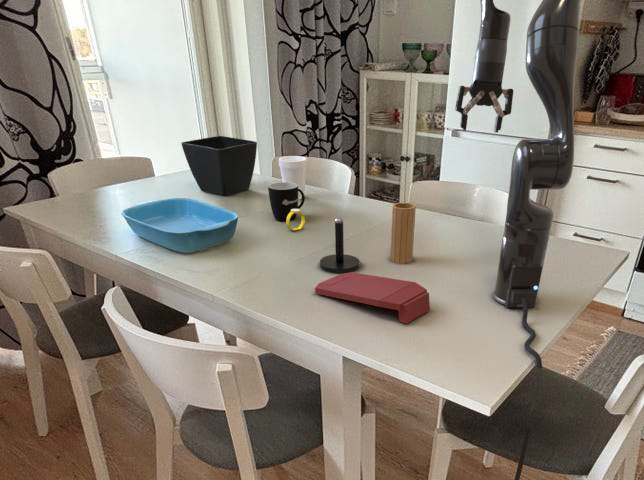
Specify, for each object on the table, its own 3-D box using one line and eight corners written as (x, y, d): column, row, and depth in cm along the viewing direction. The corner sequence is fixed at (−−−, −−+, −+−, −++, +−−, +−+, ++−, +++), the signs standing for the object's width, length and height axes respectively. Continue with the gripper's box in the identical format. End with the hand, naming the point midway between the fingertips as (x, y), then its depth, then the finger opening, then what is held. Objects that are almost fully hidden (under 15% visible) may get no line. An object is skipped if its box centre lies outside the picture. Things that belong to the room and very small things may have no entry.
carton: (314, 307, 119) (401, 327, 103) (310, 286, 116) (399, 304, 101) (349, 290, 126) (435, 306, 111) (346, 271, 124) (434, 284, 109)
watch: (290, 233, 151) (289, 213, 148) (285, 231, 153) (283, 210, 150) (307, 228, 155) (306, 208, 152) (301, 226, 156) (300, 206, 153)
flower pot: (262, 188, 193) (258, 140, 184) (225, 200, 179) (219, 148, 170) (226, 181, 201) (219, 135, 192) (188, 192, 188) (179, 142, 179)
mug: (281, 224, 158) (278, 190, 152) (265, 217, 163) (262, 185, 158) (313, 217, 164) (311, 184, 159) (296, 211, 170) (295, 179, 165)
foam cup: (278, 195, 186) (275, 157, 179) (303, 192, 189) (301, 155, 182) (286, 202, 179) (283, 162, 172) (311, 199, 182) (310, 160, 175)
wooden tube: (413, 263, 133) (416, 208, 125) (391, 263, 132) (393, 208, 125) (410, 255, 137) (414, 202, 130) (389, 255, 137) (391, 202, 130)
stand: (360, 273, 127) (360, 224, 120) (319, 273, 126) (317, 224, 120) (359, 258, 135) (359, 211, 129) (320, 258, 135) (318, 211, 128)
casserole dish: (113, 232, 150) (107, 207, 146) (181, 215, 164) (177, 192, 161) (185, 264, 130) (180, 237, 126) (256, 242, 144) (253, 216, 140)
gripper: (464, 58, 126) (455, 131, 134) (522, 62, 127) (510, 134, 134) (459, 59, 133) (451, 128, 141) (514, 63, 133) (503, 131, 141)
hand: (479, 131), depth 137 cm, fingers open, 8 cm apart
